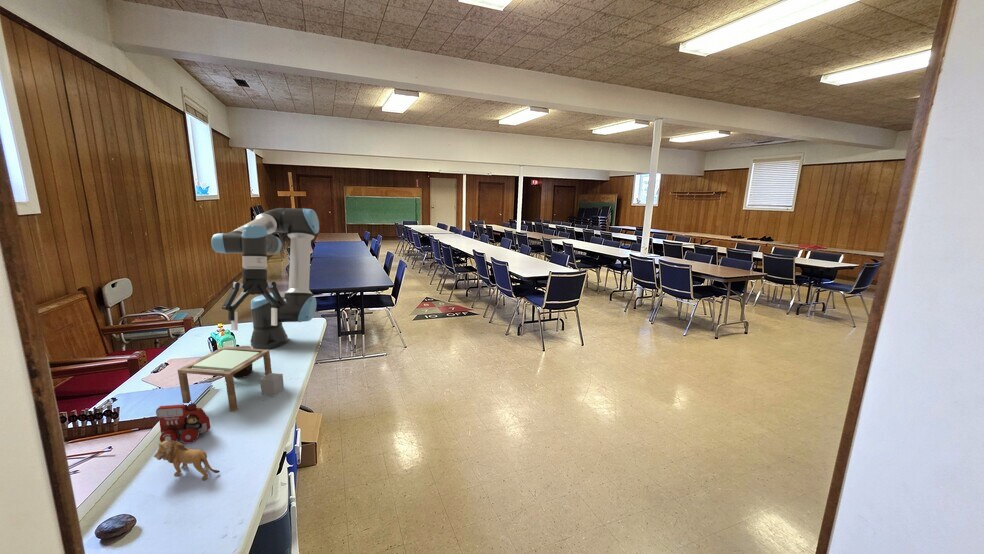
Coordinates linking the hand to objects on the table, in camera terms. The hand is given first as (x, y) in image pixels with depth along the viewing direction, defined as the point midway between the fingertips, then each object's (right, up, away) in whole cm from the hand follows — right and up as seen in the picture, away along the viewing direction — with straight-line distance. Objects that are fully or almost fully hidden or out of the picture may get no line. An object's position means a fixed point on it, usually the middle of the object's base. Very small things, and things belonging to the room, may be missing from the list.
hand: (255, 327), depth 135 cm
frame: (-7, -23, -2) cm, 25 cm away
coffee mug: (-13, -20, +14) cm, 27 cm away
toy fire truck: (-5, -29, -25) cm, 38 cm away
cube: (+6, -23, +1) cm, 24 cm away
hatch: (-7, -11, -4) cm, 14 cm away
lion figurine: (+7, -33, -39) cm, 51 cm away
